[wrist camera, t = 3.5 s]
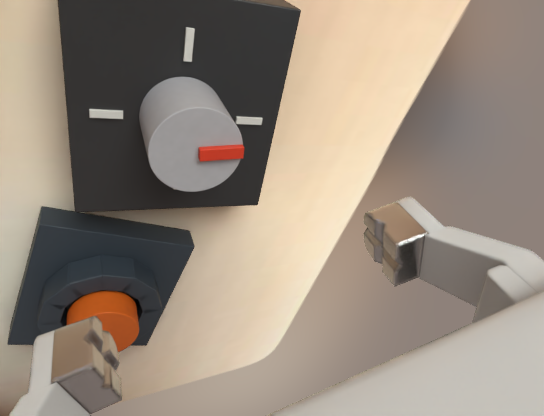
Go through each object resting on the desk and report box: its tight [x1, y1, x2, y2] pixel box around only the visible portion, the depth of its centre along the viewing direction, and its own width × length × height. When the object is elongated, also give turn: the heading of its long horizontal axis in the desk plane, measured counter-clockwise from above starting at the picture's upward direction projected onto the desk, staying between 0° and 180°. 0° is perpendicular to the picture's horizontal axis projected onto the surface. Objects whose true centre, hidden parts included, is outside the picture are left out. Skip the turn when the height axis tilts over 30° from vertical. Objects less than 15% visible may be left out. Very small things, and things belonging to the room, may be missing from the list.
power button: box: [67, 290, 139, 352], centre depth 25 cm, size 4×4×2 cm
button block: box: [8, 206, 194, 345], centre depth 26 cm, size 10×9×4 cm
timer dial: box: [139, 77, 244, 192], centre depth 18 cm, size 4×4×4 cm
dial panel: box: [58, 0, 301, 212], centre depth 21 cm, size 11×10×3 cm
